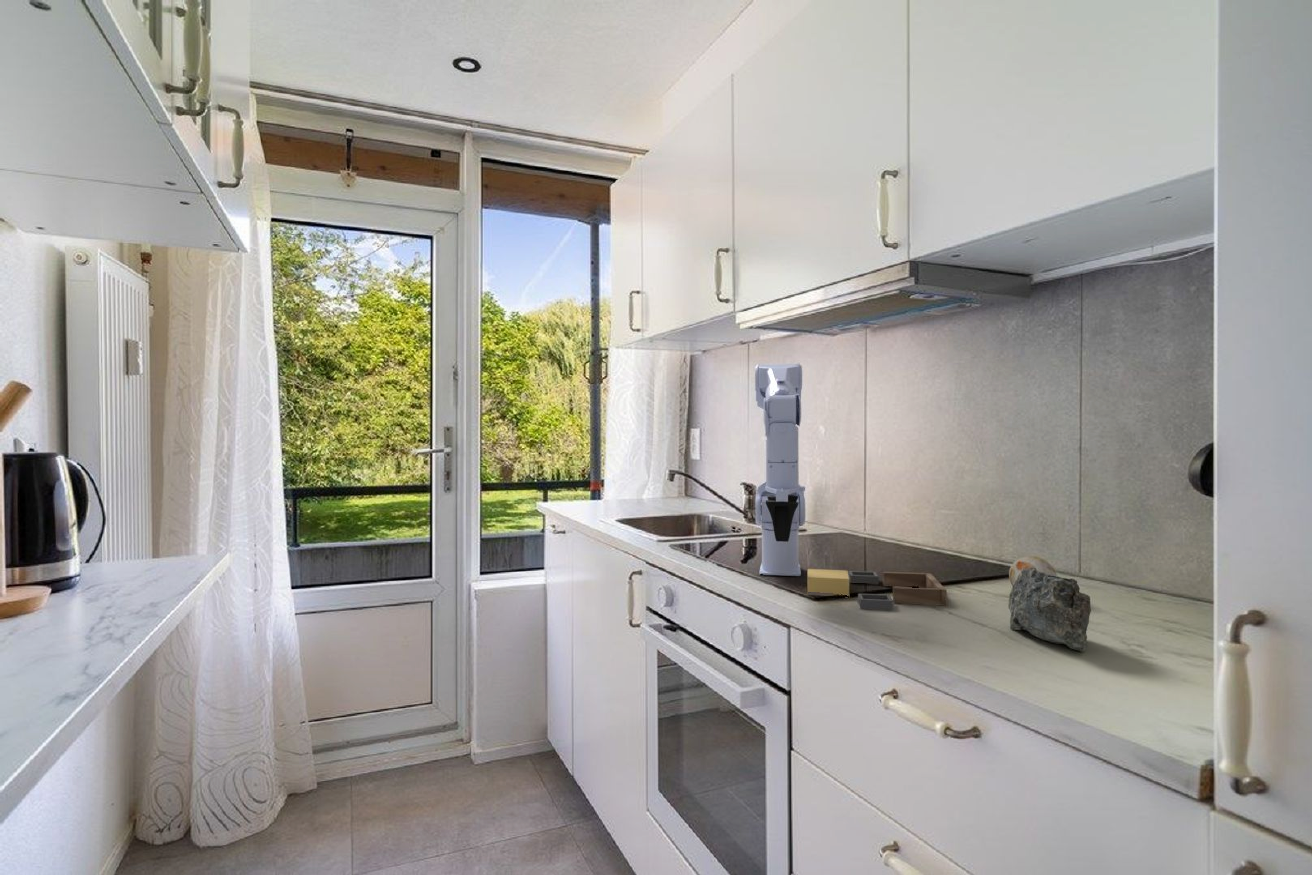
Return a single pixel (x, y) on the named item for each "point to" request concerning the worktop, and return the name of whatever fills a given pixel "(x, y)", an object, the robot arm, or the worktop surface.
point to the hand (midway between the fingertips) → (782, 537)
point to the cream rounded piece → (1028, 563)
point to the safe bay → (925, 594)
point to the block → (828, 581)
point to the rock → (1050, 608)
